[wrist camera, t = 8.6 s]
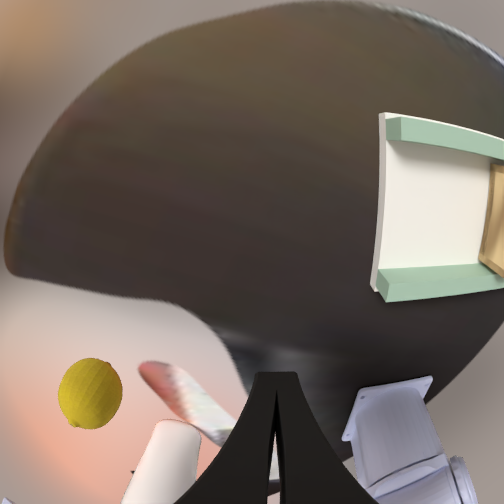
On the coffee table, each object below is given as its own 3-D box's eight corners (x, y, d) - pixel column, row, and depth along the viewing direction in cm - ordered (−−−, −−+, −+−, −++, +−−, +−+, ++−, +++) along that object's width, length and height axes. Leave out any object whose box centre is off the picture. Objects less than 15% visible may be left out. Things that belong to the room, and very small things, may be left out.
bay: (514, 271, 16) (532, 286, 14) (369, 284, 18) (384, 307, 15) (530, 151, 12) (554, 156, 10) (378, 113, 14) (400, 109, 11)
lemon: (92, 331, 21) (45, 392, 13) (142, 367, 22) (108, 436, 14) (80, 359, 23) (42, 414, 15) (124, 391, 24) (95, 450, 16)
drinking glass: (150, 433, 27) (117, 533, 13) (150, 405, 24) (105, 526, 10) (204, 448, 27) (184, 553, 13) (213, 423, 24) (188, 552, 11)
